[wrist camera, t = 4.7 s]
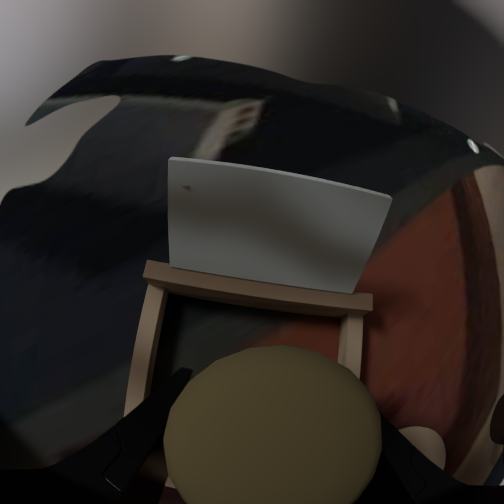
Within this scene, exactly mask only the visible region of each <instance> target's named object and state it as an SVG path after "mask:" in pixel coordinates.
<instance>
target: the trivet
mask: <svg viewBox="0 0 504 504" xmlns="http://www.w3.org/2000/svg"><path fill="white" fill-rule="evenodd" d="M398 431H399V432H400V433H402V434H403V435H404V436H405V437H406V438H407V439H408V440H409V441H410V442H411V443H412V445H414V446H415V447H416V448H417V449H418V450H419V451H420V452H422V453H423V454H424V455H425V456H426V457H427V458H428V459H430V460H431V461H432V462H433V463H435V464H436V465H437V466H438V467H440V468H441V469H442V470H444V467H445V460H446V452H445V446H444V443H443V440H442V438H441V437H440V436H439V434H437V433H436V432H435V431H434V430H432V429H429V428H426V427H420V426H410V427H404V428H401V429H398Z"/></svg>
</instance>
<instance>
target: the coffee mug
mask: <svg viewBox="0 0 504 504" xmlns="http://www.w3.org/2000/svg"><path fill="white" fill-rule="evenodd" d="M490 437H491V440H492V441H493V442H495V443H500V444H504V394H503V395H502V397H501V398H500V399H499V401H498V403H497V405H496V407H495V409H494V412H493V415H492V419H491V425H490ZM503 464H504V448H503Z"/></svg>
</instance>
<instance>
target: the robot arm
mask: <svg viewBox="0 0 504 504" xmlns="http://www.w3.org/2000/svg"><path fill="white" fill-rule="evenodd" d="M191 379H193V370H192V369H188V368H184V367H182V368H180V369H178V370H177V371H176V372H175V373H174V374H173V375H172V376H171V377H170V378H168V379H167V380H166V381H165V382H164V383H163V384H162V385H161V386H159V387H158V388H157V389H156V390H155V391H154V392H153V393H151V394H150V395H149V396H148V397H147V398H146V399H145V400H143V401H142V402H141V403H140V404H139V405H138V406H137V407H135V408H134V409H133V410H132V411H131V412H130V413H128V414H127V415H126V416H125V417H124V418H122V419H121V420H120V421H119V422H118V423H117V424H115V426H116V427H115V426H113V427H112V428H110V429H109V430H108V431H107V432H106V433H104V434H103V435H102V436H100V437H99V438H98V439H96V440H95V441H93V442H92V443H90V444H89V445H87V446H86V447H84V448H82V449H81V450H79V451H77V452H75V453H74V454H72V455H70V456H68V457H67V458H65V459H63V460H61V461H60V462H58V463H56V464H54V465H52V466H49V467H46V468H41V469H27V470H9V469H0V504H158V503H159V501H160V498H161V495H162V492H163V489H164V486H165V483H166V480H167V478H168V470H167V464H166V457H165V450H164V441H163V437H164V433H165V429H166V425H167V421H168V417H169V413H170V409H171V407H172V406H173V404H174V403H175V401H176V400H177V398H178V397H179V395H180V394H181V392H182V391H183V389H184V388H185V387H186V385H187V384H188V382H189V381H190V380H191ZM378 412H379V411H378ZM379 414H380V416H381V437H382V451H381V454H380V458H379V461H378V464H377V467H376V471H375V474H374V476H373V478H372V479H371V481H370V482H369V484H368V485H367V487H366V488H365V490H364V491H363V493H362V494H361V496H360V497H359V498H358V500H356V501H355V502H354V503H353V504H504V485H502V486H476V485H467V484H464V483H462V482H460V481H458V480H456V479H455V478H454V477H452V476H451V475H449V474H448V473H447V472H445V471H444V470H442V469H441V468H440V467H438V466H437V465H436V464H435V463H433V462H432V461H431V460H430V459H428V458H427V457H426V456H425V455H424V454H423V453H422V452H420V451H419V450H418V449H417V448H416V447H415V446H414V445H412V443H411V442H410V441H409V440H408V439H407V438H406V437H405V436H404V435H403V434H402V433H400V432H399V431H398V430H397V429H396V428H395V427H394V426H393V425H392V424H391V423H390V422H389V421H388V420H387V419H386V418H385V417H384V416H383V415H382V414H381V413H380V412H379Z"/></svg>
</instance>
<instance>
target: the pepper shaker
mask: <svg viewBox="0 0 504 504" xmlns="http://www.w3.org/2000/svg"><path fill="white" fill-rule="evenodd" d="M163 441H164V450H165V457H166V464H167V470H168V475H169V477H170V479H171V480H172V482H173V484H174V486H175V487H176V489H177V491H178V492H179V494H180V496H181V497H182V499H183V500H184V501H185V502H186V503H187V504H353V503H354V502H355V501H356V500H358V498H359V497H360V496H361V494H362V493H363V491H364V490H365V488H366V487H367V485H368V484H369V482H370V481H371V479H372V478H373V476H374V474H375V471H376V467H377V464H378V461H379V458H380V454H381V451H382V437H381V416H380V414H379V412H378V409H377V407H376V404H375V402H374V400H373V397H372V395H371V392H370V390H369V389H368V388H367V387H366V386H365V385H364V384H363V383H362V382H361V381H360V380H359V379H358V378H357V376H356V375H355V374H354V373H353V372H352V371H351V370H350V369H348V368H347V367H345V366H343V365H341V364H339V363H337V362H336V361H334V360H332V359H330V358H328V357H326V356H324V355H323V354H321V353H319V352H317V351H313V350H308V349H302V348H297V347H292V346H287V345H277V346H267V347H255V348H248V349H245V350H243V351H240V352H238V353H235V354H232V355H230V356H227V357H224V358H222V359H219V360H216V361H215V362H214V363H212V364H211V365H210V366H209V367H207V368H206V369H205V370H203V371H202V372H201V373H199V374H198V375H197V376H195V377H194V378H193V379H191V380H190V381H189V382H188V384H187V385H186V387H185V388H184V389H183V391H182V392H181V394H180V395H179V397H178V398H177V400H176V401H175V403H174V404H173V406H172V407H171V409H170V413H169V417H168V421H167V425H166V429H165V433H164V437H163Z"/></svg>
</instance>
